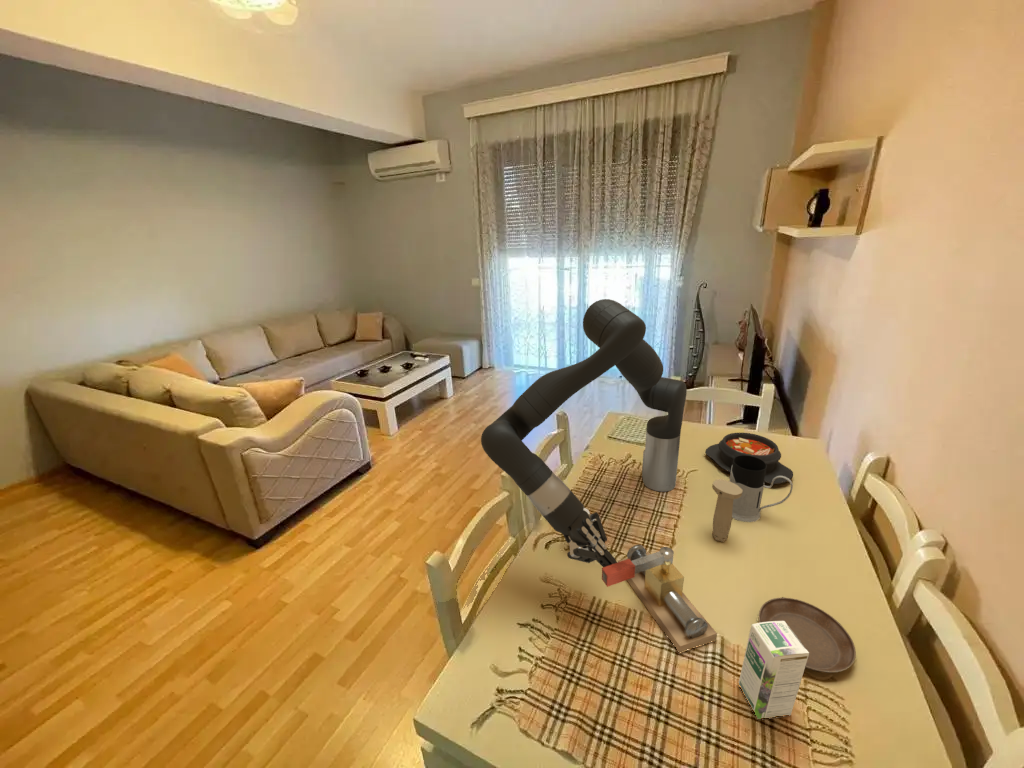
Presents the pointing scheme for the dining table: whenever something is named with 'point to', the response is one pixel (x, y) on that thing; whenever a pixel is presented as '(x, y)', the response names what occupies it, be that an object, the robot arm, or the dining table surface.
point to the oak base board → (670, 617)
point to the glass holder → (750, 487)
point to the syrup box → (772, 668)
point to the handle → (724, 507)
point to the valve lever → (635, 566)
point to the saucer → (813, 633)
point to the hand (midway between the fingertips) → (613, 568)
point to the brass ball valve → (669, 593)
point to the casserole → (750, 454)
